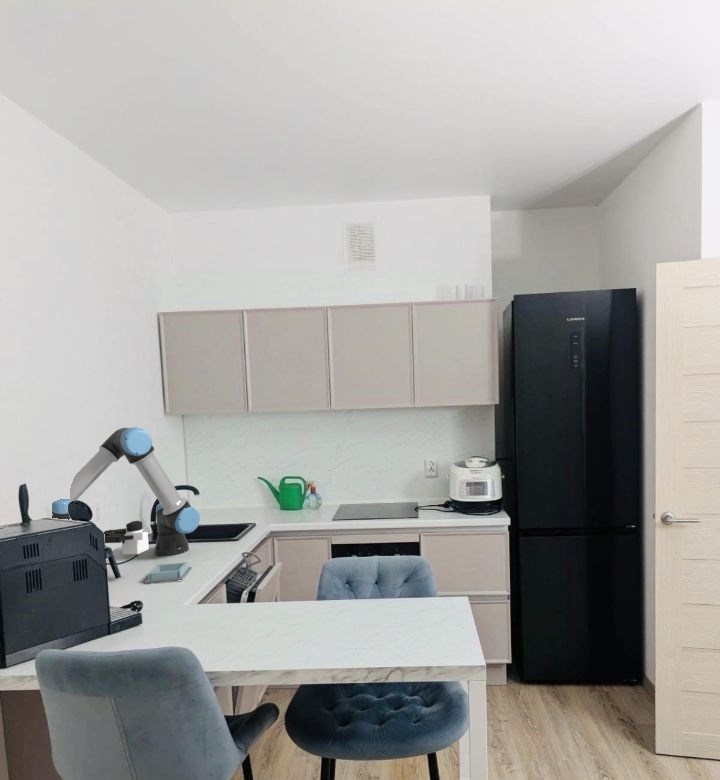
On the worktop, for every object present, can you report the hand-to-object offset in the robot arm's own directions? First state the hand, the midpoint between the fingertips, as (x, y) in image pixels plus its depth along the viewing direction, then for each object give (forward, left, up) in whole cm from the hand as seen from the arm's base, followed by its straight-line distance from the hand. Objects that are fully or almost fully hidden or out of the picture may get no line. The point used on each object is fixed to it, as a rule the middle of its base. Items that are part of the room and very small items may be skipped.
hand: (146, 533), depth 234 cm
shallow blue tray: (0, +8, -18) cm, 19 cm away
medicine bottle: (0, -5, -7) cm, 9 cm away
